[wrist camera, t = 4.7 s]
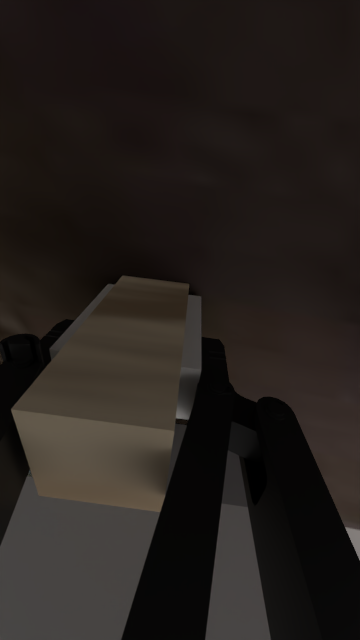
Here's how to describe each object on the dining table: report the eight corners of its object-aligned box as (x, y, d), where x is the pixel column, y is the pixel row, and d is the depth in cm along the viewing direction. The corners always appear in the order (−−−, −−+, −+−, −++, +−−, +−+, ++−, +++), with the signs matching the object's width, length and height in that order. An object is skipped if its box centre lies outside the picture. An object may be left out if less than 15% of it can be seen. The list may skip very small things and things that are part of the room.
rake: (31, 263, 15) (-212, 380, 6) (189, 283, 15) (174, 431, 6) (68, 461, 25) (-4, 615, 16) (164, 474, 24) (144, 636, 16)
